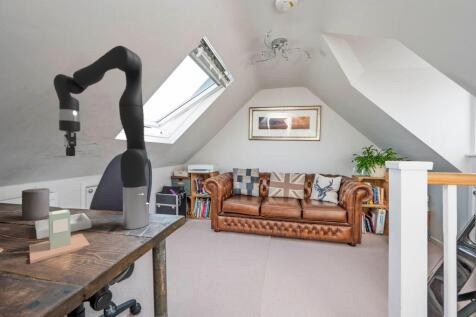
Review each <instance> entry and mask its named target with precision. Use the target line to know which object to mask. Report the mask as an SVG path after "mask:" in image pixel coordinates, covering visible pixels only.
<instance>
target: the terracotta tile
mask: <svg viewBox="0 0 476 317" xmlns="http://www.w3.org/2000/svg"><path fill="white" fill-rule="evenodd" d="M28 246H29V264H34V263H37V262H41V261H44V260H47V259H51V258H54V257H59V256H62V255H66V254H70V253H73V252H77V251H81V250H84V249H88V248H91V244H90V242H89V241H88V239H87V238H86V237H85V236H84V234H83V232H81V233H77V234H73V235H71V245H68V246H64V247H60V248H56V249H52V250H50V247H49V240H46V241H43V242H38V243H32V244H29V245H28Z"/></svg>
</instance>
